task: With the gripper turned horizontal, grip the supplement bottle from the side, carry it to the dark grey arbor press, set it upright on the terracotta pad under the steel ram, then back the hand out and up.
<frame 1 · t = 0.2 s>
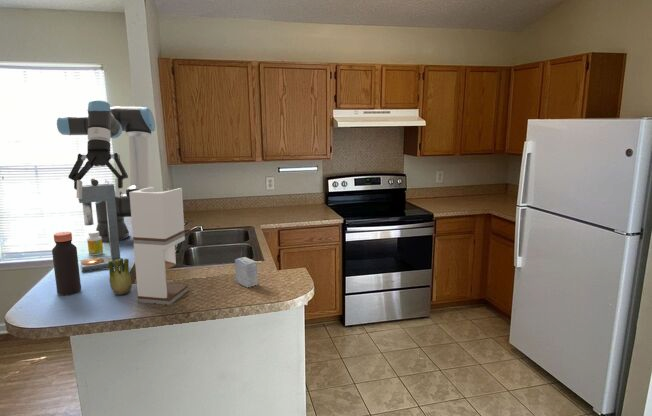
hand: (98, 197, 150), 28 cm above the worktop, tool tilted 20°, fingers open, 12 cm apart
medicine box: (246, 284, 144), on the worktop
supplement bottle: (96, 254, 176), on the worktop
vinegar: (69, 292, 135), on the worktop
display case: (164, 296, 133), on the worktop
arbor press: (93, 266, 160), on the worktop
fennel bulb: (122, 293, 135), on the worktop
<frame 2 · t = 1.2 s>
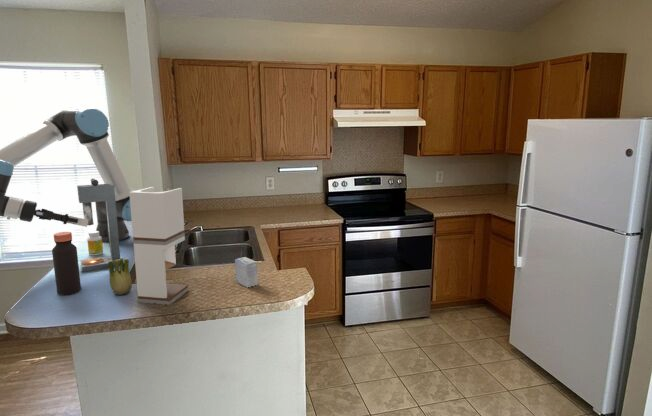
hand: (86, 223, 160), 17 cm above the worktop, tool tilted 70°, fingers open, 13 cm apart
nothing on the worktop moved.
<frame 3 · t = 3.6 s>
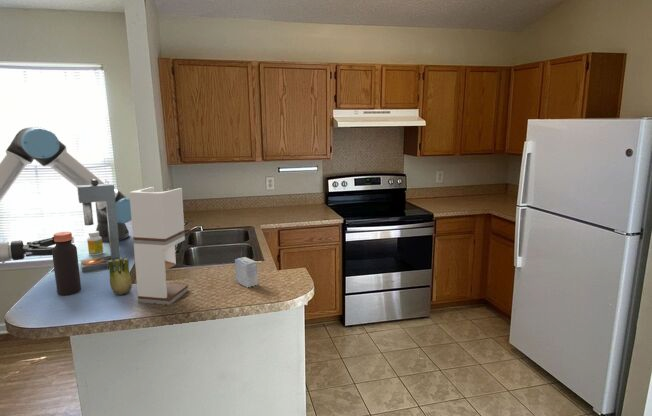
hand: (74, 243, 171), 6 cm above the worktop, tool horizontal, fingers open, 13 cm apart
nothing on the worktop moved.
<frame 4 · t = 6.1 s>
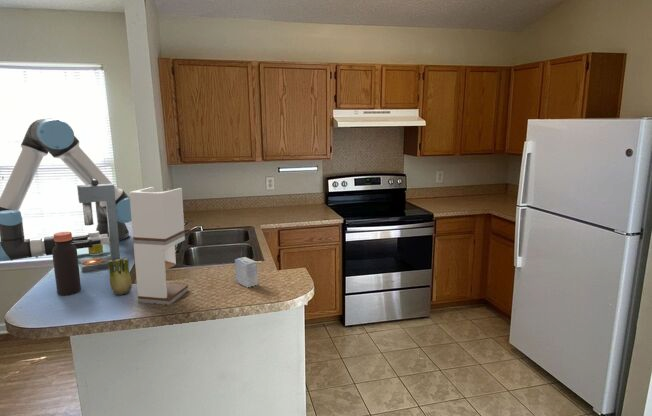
hand: (108, 238, 178), 6 cm above the worktop, tool horizontal, fingers closed on supplement bottle, 5 cm apart
supplement bottle: (96, 254, 176), on the worktop, touching gripper
everything else where it was.
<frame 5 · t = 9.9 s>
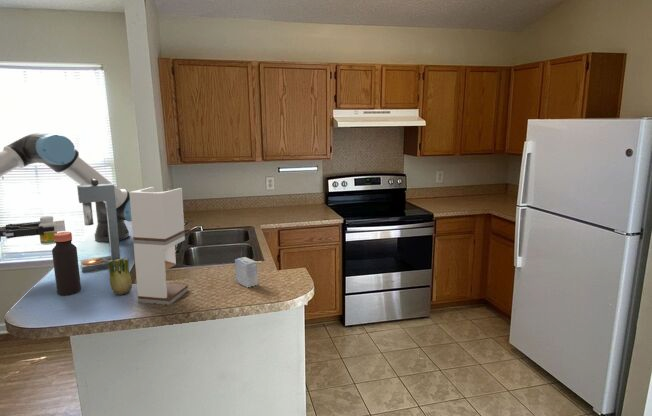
hand: (64, 225, 152), 18 cm above the worktop, tool horizontal, fingers closed on supplement bottle, 5 cm apart
supplement bottle: (49, 243, 150), point 11 cm above the worktop, touching gripper
everything else where it was.
when the fingers open (10 cm above the worktop, at t = 13.6 s): supplement bottle drops 1 cm, resting on arbor press.
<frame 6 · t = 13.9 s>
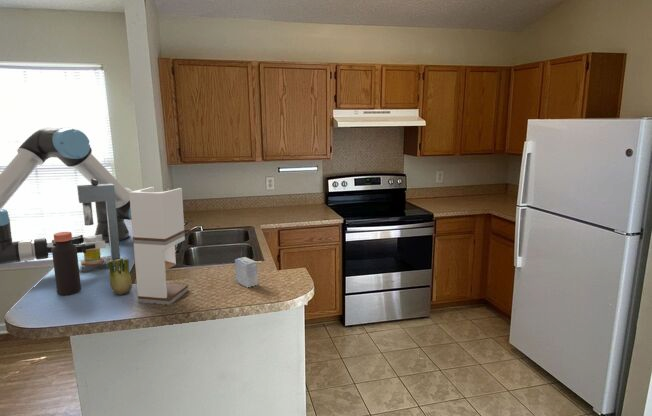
hand: (103, 241, 160), 10 cm above the worktop, tool horizontal, fingers open, 10 cm apart
supplement bottle: (92, 261, 159), point 2 cm above the worktop, touching arbor press
everything else where it was.
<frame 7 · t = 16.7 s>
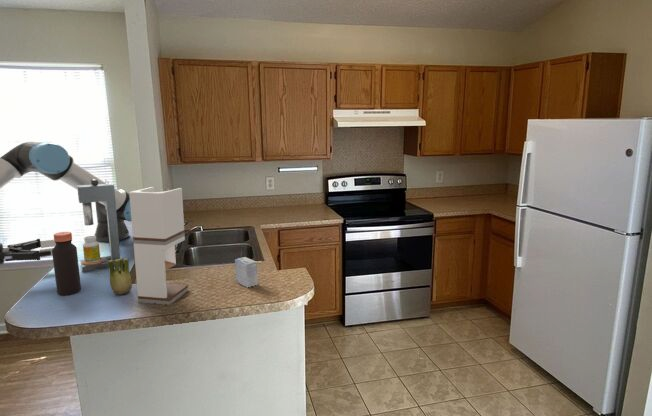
hand: (61, 246, 153), 10 cm above the worktop, tool horizontal, fingers open, 13 cm apart
nothing on the worktop moved.
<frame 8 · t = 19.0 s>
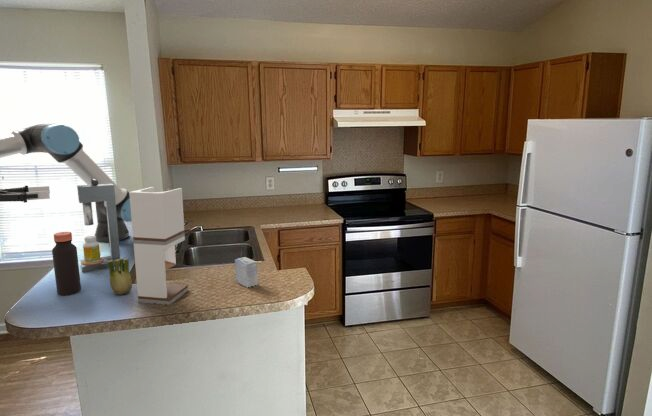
hand: (49, 192, 151), 30 cm above the worktop, tool horizontal, fingers open, 13 cm apart
nothing on the worktop moved.
at the end: supplement bottle 0.1 cm off-centre on the arbor press, point 2.1 cm above the arbor press's base; supplement bottle tilted 0°; the gripper is holding nothing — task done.
